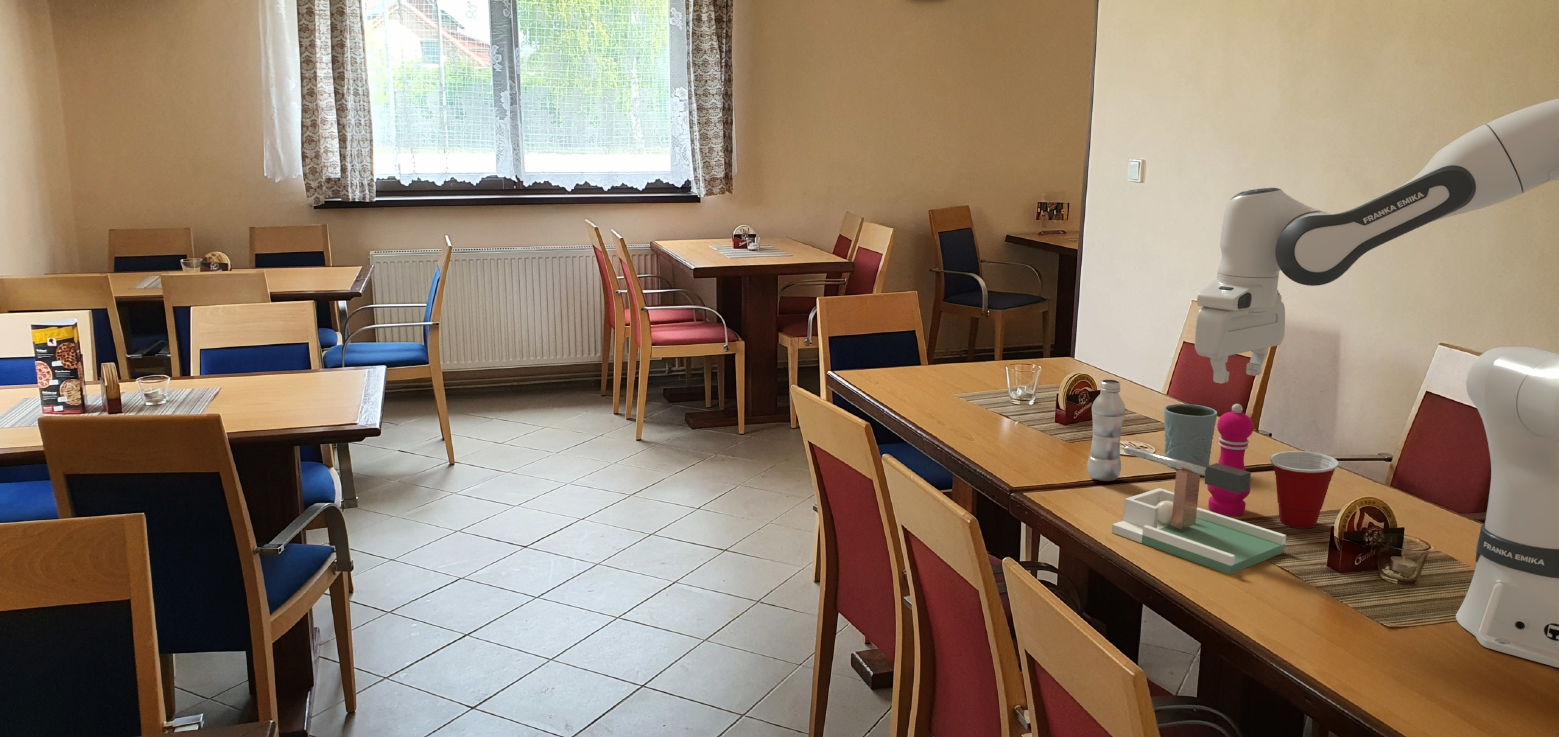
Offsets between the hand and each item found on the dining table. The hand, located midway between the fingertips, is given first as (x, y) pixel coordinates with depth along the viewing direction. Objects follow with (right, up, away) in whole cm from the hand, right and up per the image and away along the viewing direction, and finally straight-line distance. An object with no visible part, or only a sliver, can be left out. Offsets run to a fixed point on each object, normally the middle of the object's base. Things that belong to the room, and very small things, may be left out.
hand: (1237, 378), depth 170 cm
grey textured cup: (+11, -19, +51) cm, 56 cm away
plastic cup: (+19, -26, +19) cm, 37 cm away
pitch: (-3, -28, +9) cm, 29 cm away
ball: (-6, -23, +13) cm, 27 cm away
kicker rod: (-5, -25, +12) cm, 28 cm away
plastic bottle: (-9, -21, +42) cm, 47 cm away
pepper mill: (+9, -25, +25) cm, 36 cm away
